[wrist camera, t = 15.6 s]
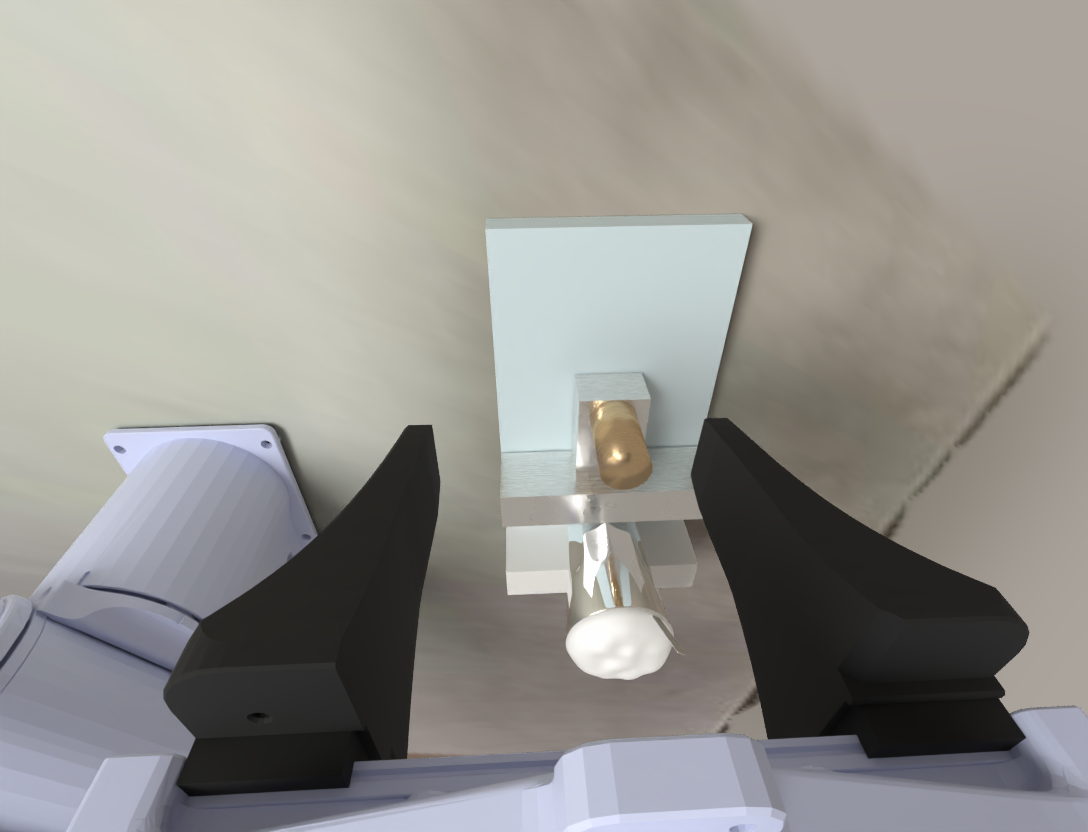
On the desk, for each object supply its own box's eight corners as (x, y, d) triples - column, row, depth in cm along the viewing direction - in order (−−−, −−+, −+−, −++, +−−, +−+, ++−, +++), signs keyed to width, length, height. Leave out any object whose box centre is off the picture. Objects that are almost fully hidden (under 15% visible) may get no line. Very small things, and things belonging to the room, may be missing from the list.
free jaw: (694, 474, 28) (725, 556, 24) (503, 481, 27) (501, 566, 23) (718, 370, 24) (762, 446, 20) (495, 377, 23) (492, 456, 19)
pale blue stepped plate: (671, 530, 32) (690, 592, 29) (508, 537, 32) (508, 600, 29) (741, 214, 21) (786, 254, 17) (486, 218, 20) (481, 261, 17)
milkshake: (665, 483, 28) (725, 669, 20) (601, 538, 31) (633, 723, 23) (599, 448, 26) (637, 637, 19) (537, 510, 29) (547, 699, 21)
